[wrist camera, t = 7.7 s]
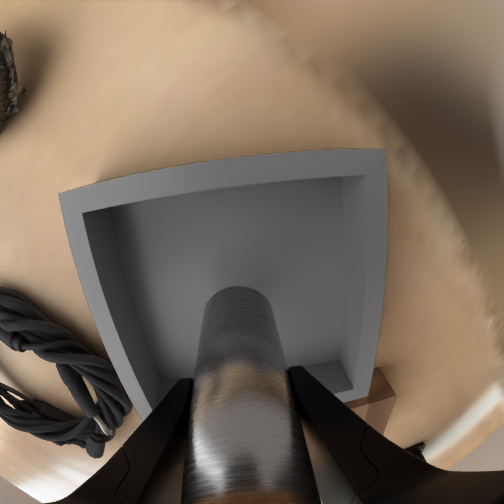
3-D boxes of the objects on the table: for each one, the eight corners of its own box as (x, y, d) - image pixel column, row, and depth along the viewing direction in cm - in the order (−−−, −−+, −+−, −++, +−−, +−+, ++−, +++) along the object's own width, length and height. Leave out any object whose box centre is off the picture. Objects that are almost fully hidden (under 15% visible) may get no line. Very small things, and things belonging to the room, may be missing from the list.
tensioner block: (379, 367, 18) (396, 395, 15) (364, 429, 21) (374, 454, 18) (268, 390, 18) (273, 424, 15) (275, 448, 20) (279, 476, 18)
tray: (351, 148, 13) (386, 148, 10) (349, 360, 17) (367, 396, 14) (94, 183, 13) (58, 193, 10) (153, 383, 17) (143, 422, 14)
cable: (-33, 347, 16) (-55, 371, 12) (-28, 231, 13) (-67, 250, 9) (102, 445, 20) (92, 479, 16) (157, 370, 17) (144, 419, 13)
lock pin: (276, 273, 12) (365, 533, 2) (282, 344, 13) (336, 559, 4) (188, 284, 12) (129, 546, 2) (204, 353, 13) (191, 570, 3)
